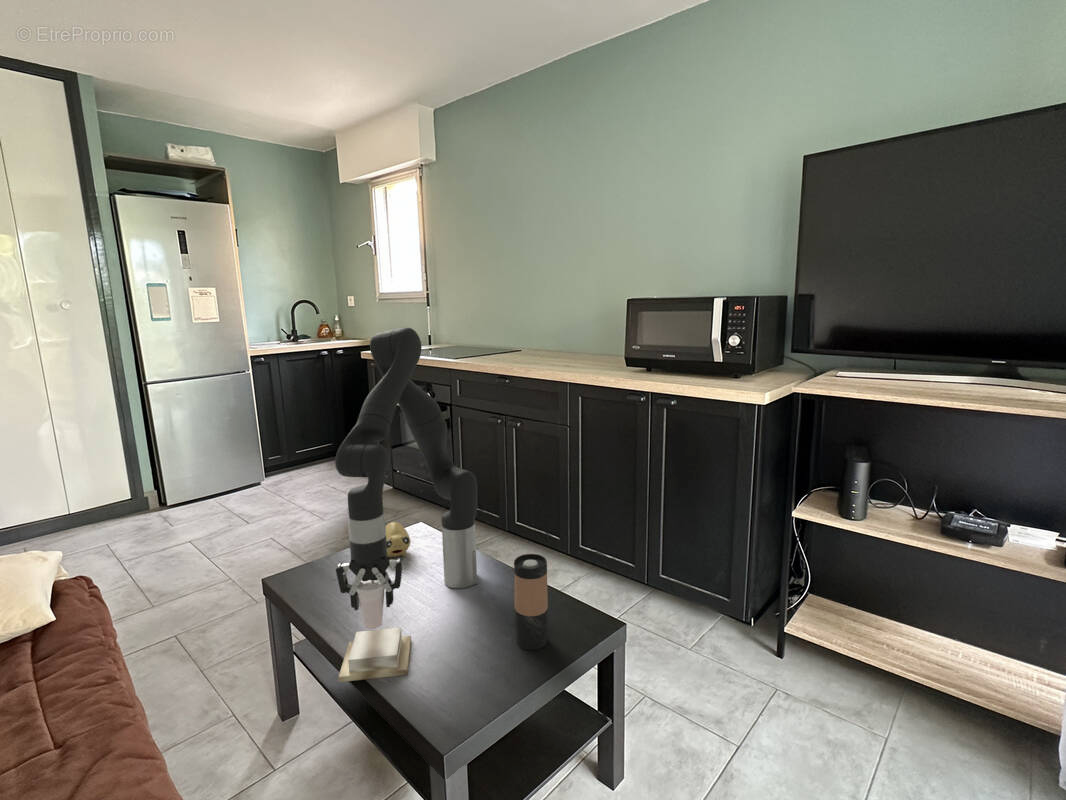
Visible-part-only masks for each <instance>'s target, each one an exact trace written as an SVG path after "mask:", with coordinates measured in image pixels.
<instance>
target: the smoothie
mask: <svg viewBox="0 0 1066 800" xmlns="http://www.w3.org/2000/svg"><path fill="white" fill-rule="evenodd" d="M385 591H386V589H385V588H384V585H381V583H380V582H379V580H375V581H374V580H368V581H363V580H361V582H360V584H359V586H358V587H356V592H357V593H358V597H359V607H360V609H361V616H362V618H363V624H364V627H365V629H368V630H375V629H377V628H380V627H381V626H382V624H383V615H384V604H385V603H384V602H385Z"/></svg>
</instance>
